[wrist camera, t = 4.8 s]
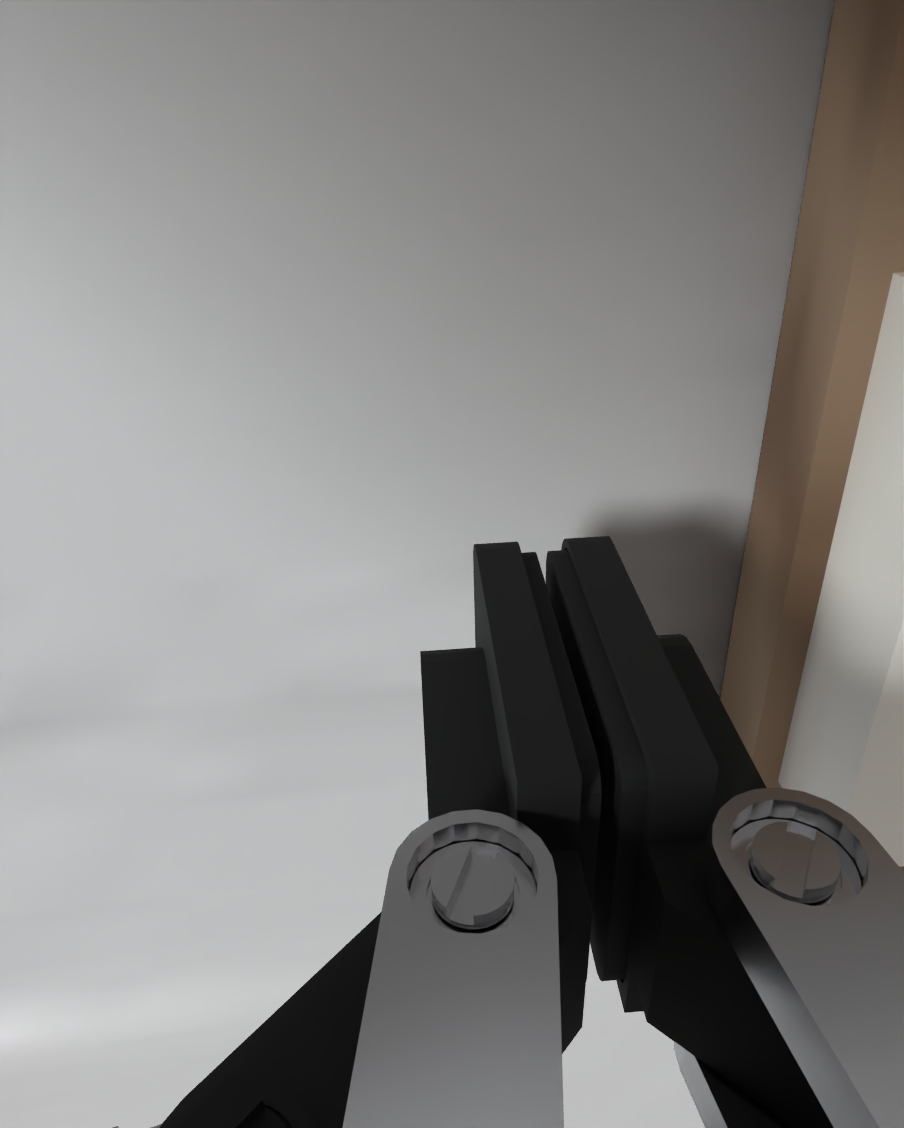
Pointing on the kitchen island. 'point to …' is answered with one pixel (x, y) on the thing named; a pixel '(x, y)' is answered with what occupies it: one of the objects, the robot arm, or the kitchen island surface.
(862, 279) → the riser
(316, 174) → the kitchen island surface
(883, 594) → the tile
